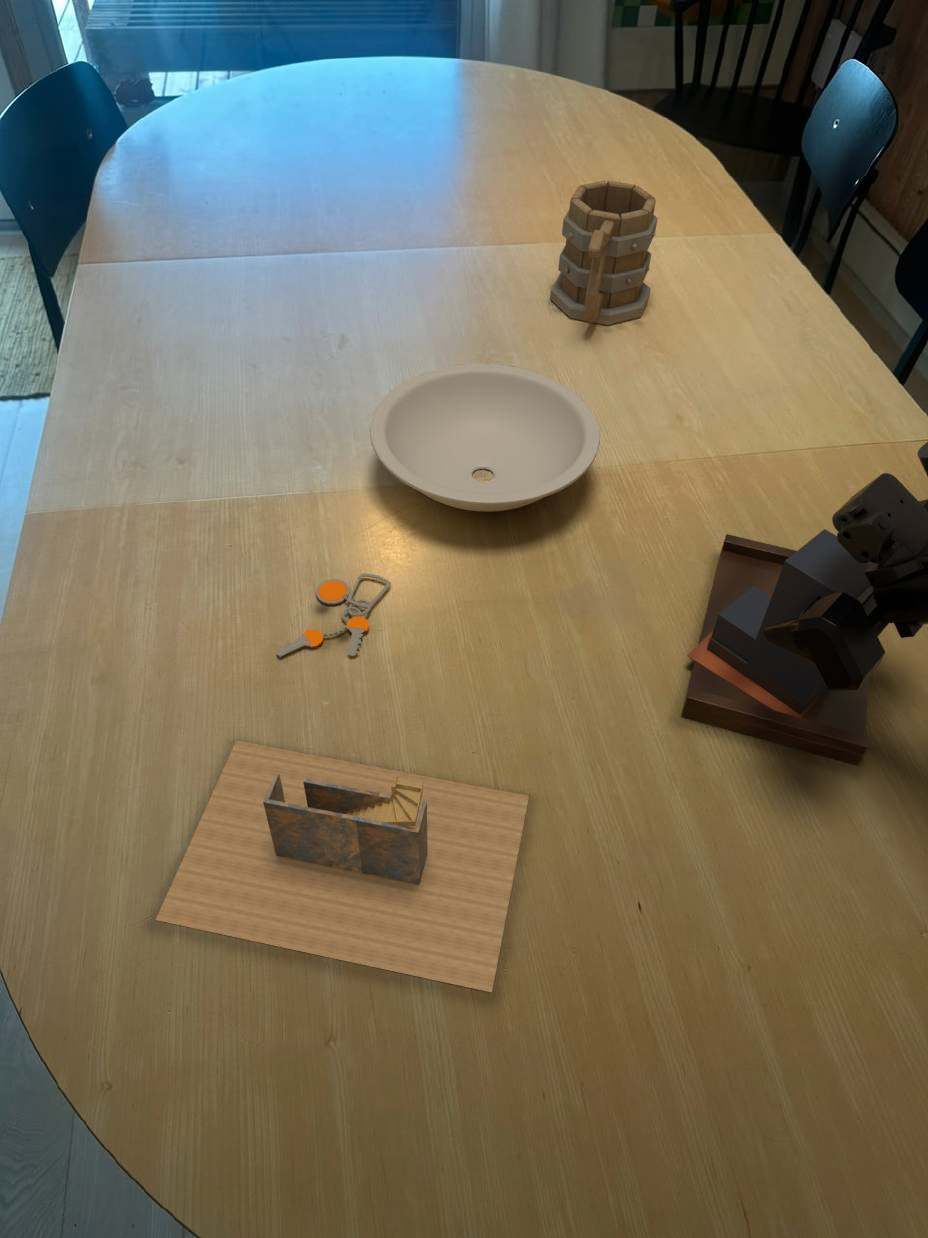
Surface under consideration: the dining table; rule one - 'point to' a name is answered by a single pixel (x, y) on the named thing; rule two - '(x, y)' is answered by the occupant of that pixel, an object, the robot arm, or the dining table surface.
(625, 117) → the dining table surface
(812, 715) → the brown serving tray
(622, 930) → the dining table surface
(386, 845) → the architectural model on board
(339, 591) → the key chain
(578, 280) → the tankard
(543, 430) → the white vessel sink
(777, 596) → the charcoal gray box
